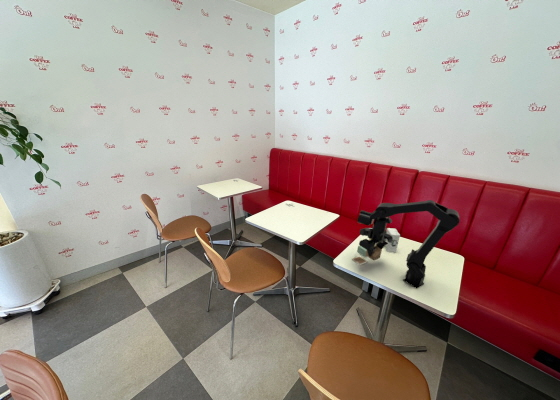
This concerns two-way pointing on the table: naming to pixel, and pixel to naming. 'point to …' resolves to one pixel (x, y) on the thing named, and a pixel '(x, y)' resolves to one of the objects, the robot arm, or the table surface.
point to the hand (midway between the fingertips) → (373, 254)
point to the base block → (362, 251)
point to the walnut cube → (375, 254)
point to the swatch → (359, 260)
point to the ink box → (392, 245)
